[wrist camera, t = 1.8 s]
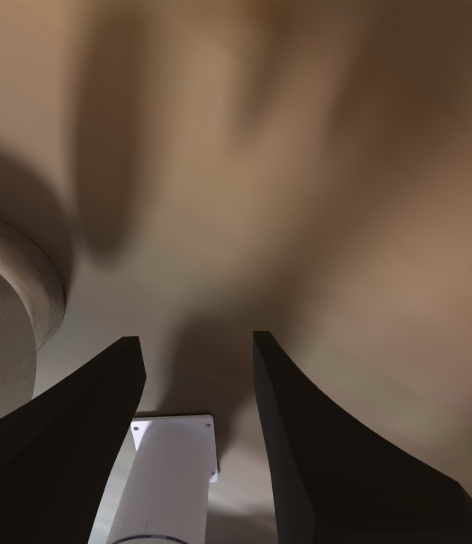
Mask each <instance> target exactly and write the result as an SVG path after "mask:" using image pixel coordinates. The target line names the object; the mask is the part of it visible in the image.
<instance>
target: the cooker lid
mask: <svg viewBox="0 0 472 544" xmlns="http://www.w3.org/2000/svg"><path fill="white" fill-rule="evenodd" d="M35 376H36V343H35V336H34V331H33V327H32V324H31V320H30V317H29V315H28V312H27V310H26V307H25V305H24V304H23V302H22V300H21V298H20V297H19V295H18V294H17V292H16V291H15V290H14V288H13V287H12V286H11V284H10V283H9V282H8V281H7V280H6V279H5V278H4V277H3V276H2V275H1V274H0V418H2V417H4V416H5V415H7V414H9V413H11V412H12V411H14V410H16V409H17V408H19V407H21V406H23V405H24V404H26V403H28V402H29V401H31V399H32V395H33V390H34V384H35Z"/></svg>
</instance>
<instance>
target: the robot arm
mask: <svg viewBox="0 0 472 544" xmlns="http://www.w3.org/2000/svg"><path fill="white" fill-rule="evenodd" d="M253 372H254V384H255V394H256V401H257V406H258V411H259V416H260V421H261V426H262V431H263V435H264V440H265V445H266V450H267V455H268V461H269V467H270V473H271V481H272V489H273V498H274V506H275V515H276V523H277V532H278V541H279V544H472V498H471V497H470V496H469V495H468V493H467V492H466V491H465V490H464V489H463V487H462V486H461V485H460V484H459V482H457V481H455V480H453V479H452V478H450V477H448V476H446V475H445V474H443V473H441V472H439V471H438V470H436V469H434V468H432V467H431V466H429V465H427V464H425V463H424V462H422V461H420V460H418V459H417V458H415V457H413V456H411V455H410V454H408V453H406V452H405V451H403V450H401V449H400V448H398V447H397V446H395V445H394V444H392V443H390V442H389V441H387V440H386V439H384V438H383V437H381V436H380V435H378V434H377V433H375V432H374V431H372V430H371V429H369V428H368V427H366V426H365V425H364V424H362V423H361V422H360V421H358V420H357V419H356V418H354V417H353V416H352V415H350V414H349V413H347V412H346V411H345V410H343V409H342V408H341V407H340V406H338V405H337V404H336V403H335V402H334V401H332V400H331V399H330V398H329V397H328V396H327V395H325V394H324V393H323V392H322V391H321V390H320V389H319V388H318V387H317V386H316V385H315V384H314V383H313V382H312V381H311V380H310V379H309V378H308V377H307V376H306V375H305V374H304V373H303V372H302V371H301V370H300V369H299V368H298V367H297V366H296V364H295V363H294V362H293V361H292V360H291V359H290V358H289V356H288V355H287V354H286V353H285V352H284V350H283V349H282V348H281V346H280V345H279V344H278V342H277V341H276V340H275V338H274V337H273V335H272V334H271V333H270V332H269V331H253ZM145 381H146V372H145V367H144V362H143V357H142V351H141V346H140V341H139V336H128V337H122V338H120V339H119V340H117V341H116V342H114V343H113V344H112V345H110V346H109V347H107V348H106V349H105V350H103V351H102V352H101V353H99V354H98V355H97V356H95V357H94V358H93V359H91V360H90V361H88V362H87V363H86V364H84V365H83V366H82V367H80V368H79V369H78V370H76V371H75V372H73V373H72V374H70V375H69V376H67V377H66V378H64V379H63V380H61V381H60V382H59V383H57V384H56V385H54V386H53V387H51V388H50V389H48V390H47V391H45V392H44V393H42V394H41V395H39V396H37V397H36V398H34V399H33V400H31V401H29V402H28V403H26V404H24V405H23V406H21V407H19V408H17V409H16V410H14V411H12V412H11V413H9V414H7V415H5V416H4V417H2V418H0V544H88V540H89V537H90V534H91V530H92V527H93V524H94V521H95V517H96V514H97V511H98V508H99V505H100V502H101V499H102V496H103V493H104V490H105V486H106V483H107V480H108V478H109V475H110V473H111V470H112V467H113V465H114V462H115V460H116V458H117V455H118V453H119V450H120V448H121V446H122V443H123V441H124V439H125V436H126V434H127V432H128V429H129V427H130V425H131V429H132V434H133V438H134V442H135V446H136V450H137V453H136V456H135V459H134V462H133V465H132V468H131V471H130V474H129V477H128V480H127V482H126V485H125V488H124V491H123V494H122V497H121V500H120V503H119V506H118V509H117V512H116V515H115V518H114V521H113V524H112V527H111V530H110V533H109V536H108V539H107V541H106V544H205V534H206V519H207V504H208V490H209V482H216V481H217V480H218V469H217V457H216V445H215V434H214V422H213V417H212V416H211V415H191V416H168V417H146V418H134V419H133V417H134V415H135V412H136V410H137V408H138V405H139V403H140V399H141V396H142V392H143V389H144V385H145Z"/></svg>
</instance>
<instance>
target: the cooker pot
mask: <svg viewBox="0 0 472 544" xmlns="http://www.w3.org/2000/svg"><path fill="white" fill-rule="evenodd" d="M0 274H1V275H2V276H3V277H4V278H5V279H6V280H7V281H8V282H9V283H10V284H11V286H12V287H13V288H14V290H15V291H16V292H17V294H18V295H19V297H20V298H21V300H22V302H23V304H24V305H25V307H26V310H27V312H28V315H29V317H30V320H31V324H32V327H33V331H34V336H35V343H36V350H37V349H39V348H40V347H41V346H42V345H43V344H44V343H45V342H46V341H48V340H49V339H50V338H51V337H52V336H53V335H54V334H55V332H56V331H57V330H58V328H59V327H60V324H61V322H62V320H63V316H64V312H65V294H64V290H63V286H62V283H61V280H60V277H59V275H58V273H57V271H56V269H55V267H54V266H53V264H52V263H51V261H50V260H49V259H48V257H47V256H46V255H45V254H44V253H43V251H42V250H41V249H40V248H39V247H38V246H37V245H36V244H35V243H34V242H33V241H31V240H30V239H29V238H28V237H26V236H25V235H24V234H23V233H21V232H19V231H18V230H16V229H15V228H13V227H11V226H9V225H8V224H6V223H4V222H2V221H0Z"/></svg>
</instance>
